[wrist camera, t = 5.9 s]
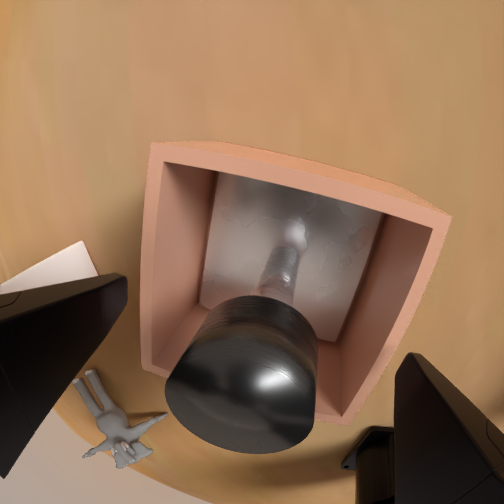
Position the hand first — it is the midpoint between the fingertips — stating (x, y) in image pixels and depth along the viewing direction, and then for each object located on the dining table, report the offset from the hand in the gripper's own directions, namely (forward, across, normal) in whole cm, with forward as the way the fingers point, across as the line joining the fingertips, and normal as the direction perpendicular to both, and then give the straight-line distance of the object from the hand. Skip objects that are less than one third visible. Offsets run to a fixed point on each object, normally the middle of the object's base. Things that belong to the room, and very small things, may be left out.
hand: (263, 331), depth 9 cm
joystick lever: (+6, 0, 0) cm, 6 cm away
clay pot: (+7, 0, 0) cm, 7 cm away
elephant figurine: (+8, +11, +19) cm, 23 cm away
